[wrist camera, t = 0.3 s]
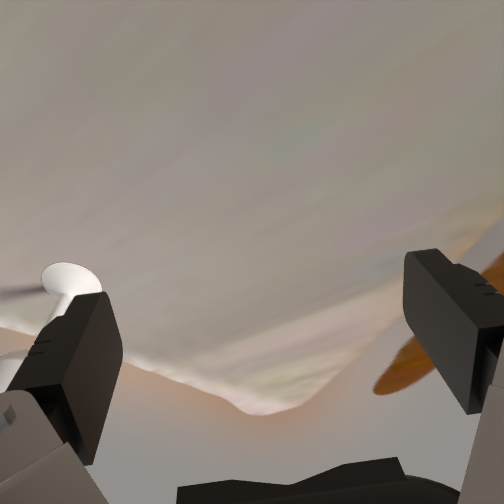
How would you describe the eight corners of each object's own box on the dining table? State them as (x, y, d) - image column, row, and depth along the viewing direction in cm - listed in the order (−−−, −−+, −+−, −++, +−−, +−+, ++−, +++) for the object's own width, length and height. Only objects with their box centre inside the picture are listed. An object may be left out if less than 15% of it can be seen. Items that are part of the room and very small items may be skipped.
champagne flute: (114, 289, 51) (23, 519, 33) (77, 314, 54) (-26, 538, 35) (65, 252, 48) (-66, 483, 30) (29, 280, 51) (-113, 507, 32)
